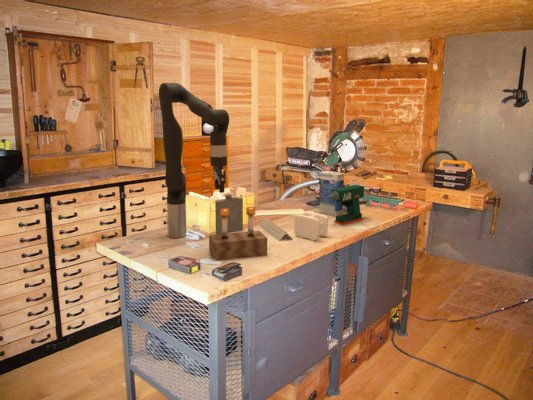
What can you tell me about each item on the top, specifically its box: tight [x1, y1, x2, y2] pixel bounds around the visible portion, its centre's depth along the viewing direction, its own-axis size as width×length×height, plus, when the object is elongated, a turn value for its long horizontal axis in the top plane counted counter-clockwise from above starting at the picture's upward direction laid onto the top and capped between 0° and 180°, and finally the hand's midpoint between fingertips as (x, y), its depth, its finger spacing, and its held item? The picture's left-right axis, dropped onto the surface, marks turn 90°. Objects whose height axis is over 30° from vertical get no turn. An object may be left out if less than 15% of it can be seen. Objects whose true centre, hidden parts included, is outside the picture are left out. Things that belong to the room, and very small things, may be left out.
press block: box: [208, 230, 268, 261], centre depth 199 cm, size 24×12×8 cm, turn 108°
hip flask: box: [214, 193, 244, 234], centre depth 230 cm, size 16×4×20 cm, turn 125°
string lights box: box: [318, 170, 345, 218], centre depth 267 cm, size 13×8×26 cm, turn 49°
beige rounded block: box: [293, 211, 329, 241], centre depth 224 cm, size 15×11×12 cm
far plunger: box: [245, 206, 256, 237], centre depth 199 cm, size 4×4×15 cm
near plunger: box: [220, 208, 229, 239], centre depth 195 cm, size 4×4×15 cm
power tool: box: [325, 184, 365, 226], centre depth 248 cm, size 32×7×20 cm, turn 131°
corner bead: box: [258, 217, 292, 242], centre depth 232 cm, size 29×9×5 cm, turn 22°
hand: (219, 190), depth 199 cm, fingers open, 8 cm apart
